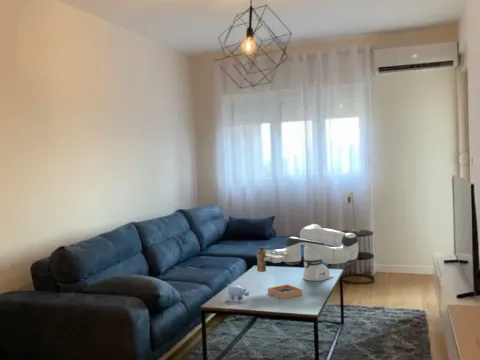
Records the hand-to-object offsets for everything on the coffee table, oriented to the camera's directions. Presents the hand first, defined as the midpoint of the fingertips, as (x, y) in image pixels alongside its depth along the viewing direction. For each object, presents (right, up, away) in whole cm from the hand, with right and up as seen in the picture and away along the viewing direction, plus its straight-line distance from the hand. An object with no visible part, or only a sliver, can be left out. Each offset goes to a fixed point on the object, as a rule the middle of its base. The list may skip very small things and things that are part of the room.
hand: (260, 258), depth 318 cm
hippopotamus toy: (-15, -24, -12) cm, 31 cm away
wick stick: (+1, -8, +1) cm, 8 cm away
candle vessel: (+16, -22, -4) cm, 28 cm away
